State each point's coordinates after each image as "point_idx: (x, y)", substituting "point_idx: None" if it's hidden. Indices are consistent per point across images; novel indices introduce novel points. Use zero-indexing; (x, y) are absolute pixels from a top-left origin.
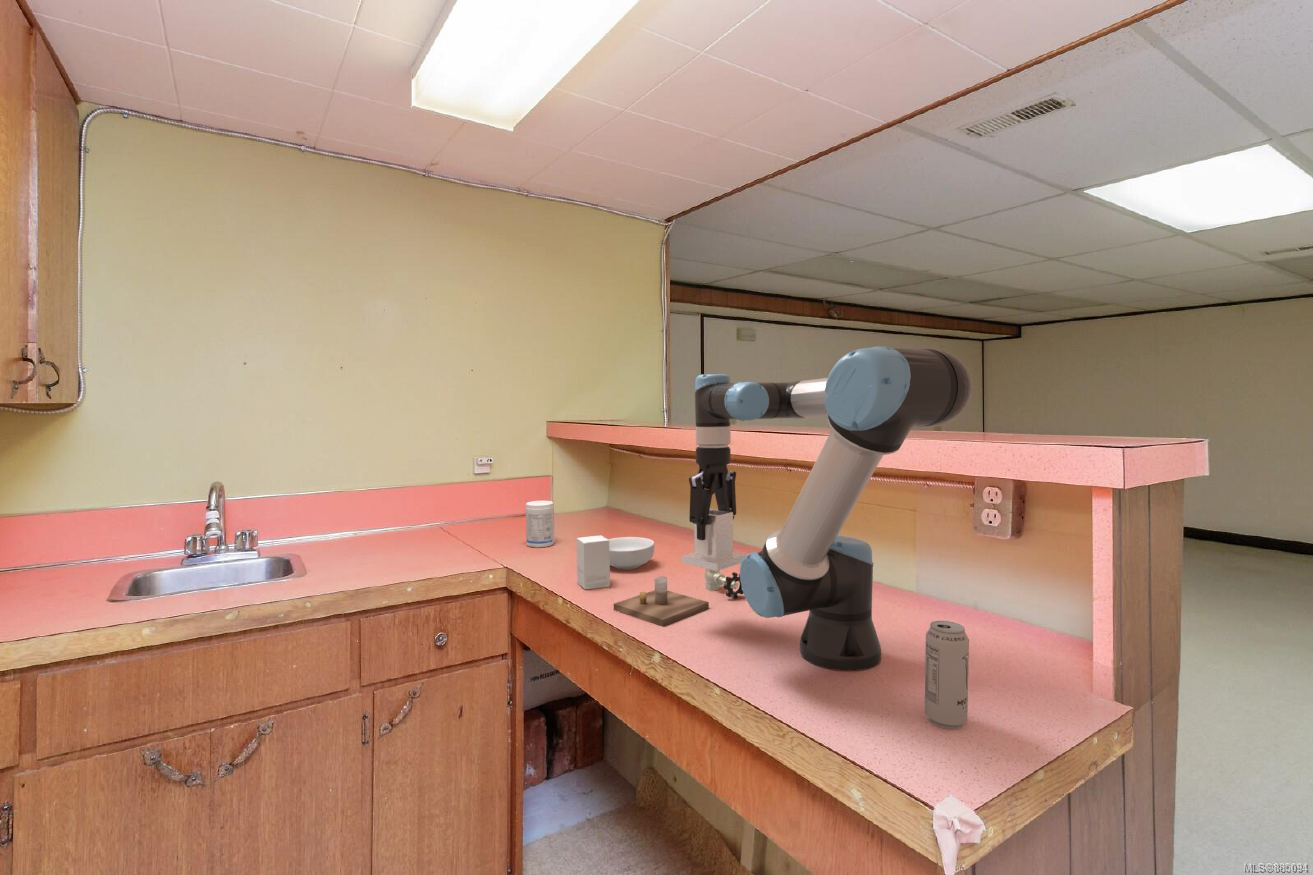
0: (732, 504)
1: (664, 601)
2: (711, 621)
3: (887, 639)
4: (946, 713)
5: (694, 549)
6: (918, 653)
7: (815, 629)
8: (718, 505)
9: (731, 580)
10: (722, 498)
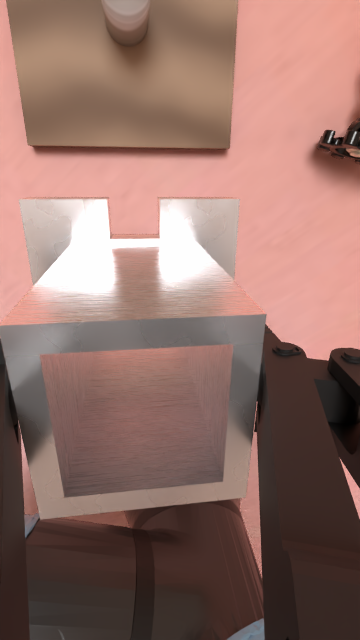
0: (351, 475)
1: (122, 41)
2: (153, 221)
3: None
4: None
5: (65, 251)
6: (253, 515)
7: None
8: (266, 418)
9: (353, 148)
10: (263, 542)
